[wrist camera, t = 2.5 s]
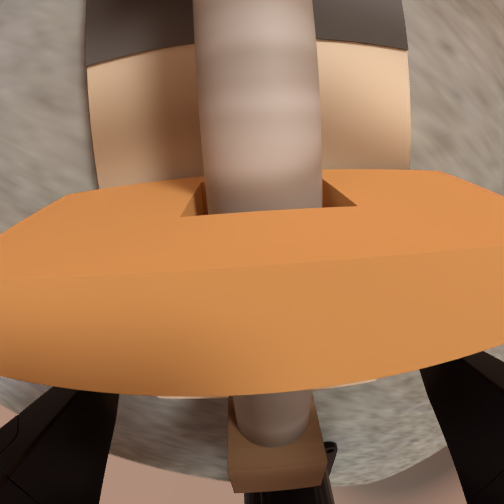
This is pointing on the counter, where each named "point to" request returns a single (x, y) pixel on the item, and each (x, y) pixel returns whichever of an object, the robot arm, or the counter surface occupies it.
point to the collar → (251, 286)
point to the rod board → (250, 141)
